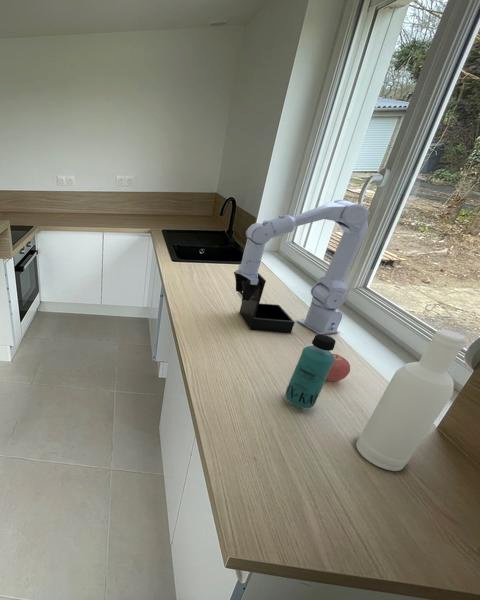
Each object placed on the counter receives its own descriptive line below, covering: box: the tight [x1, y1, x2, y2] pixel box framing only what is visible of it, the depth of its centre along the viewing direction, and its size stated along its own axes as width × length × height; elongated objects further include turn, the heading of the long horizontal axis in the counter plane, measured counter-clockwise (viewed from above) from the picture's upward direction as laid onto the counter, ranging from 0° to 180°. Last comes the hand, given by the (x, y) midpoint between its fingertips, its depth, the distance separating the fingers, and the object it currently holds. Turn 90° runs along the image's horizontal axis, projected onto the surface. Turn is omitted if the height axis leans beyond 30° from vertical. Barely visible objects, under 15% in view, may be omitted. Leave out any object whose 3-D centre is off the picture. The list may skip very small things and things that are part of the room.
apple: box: [326, 353, 351, 382], centre depth 89 cm, size 7×7×8 cm
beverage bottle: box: [284, 333, 336, 410], centre depth 77 cm, size 6×7×20 cm
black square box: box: [238, 302, 296, 334], centre depth 118 cm, size 13×13×5 cm
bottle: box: [355, 329, 468, 472], centre depth 61 cm, size 8×8×30 cm
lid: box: [237, 272, 267, 318], centre depth 115 cm, size 14×13×4 cm
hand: (242, 295), depth 116 cm, fingers open, 7 cm apart
